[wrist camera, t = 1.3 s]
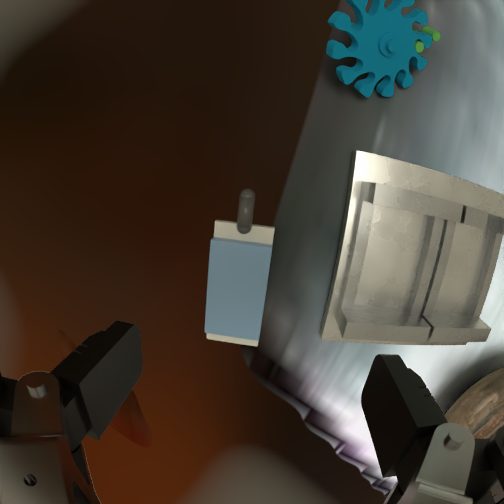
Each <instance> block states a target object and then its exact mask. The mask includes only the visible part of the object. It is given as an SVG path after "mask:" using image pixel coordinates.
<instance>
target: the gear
mask: <svg viewBox="0 0 504 504" xmlns="http://www.w3.org/2000/svg"><path fill="white" fill-rule="evenodd" d="M346 1H347V2H348V3H349V4H350V5H351V6H352V8H353V9H354V11H355V14H356V21H357V23H356V24H354V23H352V22H351V20H350V17H349V16H348V15H347V14H345V13H342V12H338V11H336V12H334V13H333V14H332V16H331V17H330V19H329V20H328V23H329V24H330V25H331V26H332V27H335V28H337V29H340V30H344V31H345V32H346V33H347V34H348V35H349V37H350V38H351V40H352V44H351V46H350V47H349V48H346V47H345V46H344V45H343V44H342V43H340V42H338V41H335V40H329V41H328V44H327V49H326V54H327V55H329V56H330V57H332V58H334V59H341V58H344V57H355V58H356V59H357V63H356V65H355V66H353V67H347V66H345V65H341V66H338V67H337V68H336V73H337V76H338V78H339V80H340V81H342V82H343V83H344V84H350V83H352V82H353V81H354V79H355V78H357V77H358V76H359V75H361V74H363V73H367V72H369V75H368V77H367V78H366V79H362V80H359V81H357V82H356V83H355V85H354V87H355V89H356V90H357V91H359V92H360V93H361V94H363V95H364V96H366V97H367V98H368V97H369V96H371V94H372V92H373V89H374V87H375V85H376V83H377V82H378V81H379V80H380V79H381V78H382V77H384V76H385V77H384V79H383V80H382V81H381V82H380V83H379V84H378V85H377V88H376V91H377V92H378V93H380V94H381V95H382V96H385V97H392V96H393V94H394V80H395V77H396V75H397V73H398V71H399V70H400V72H399V74H398V76H397V83H398V84H399V85H401V86H402V87H404V88H406V87H409V86H411V85H412V84H413V78H412V76H411V75H410V72H409V60H410V58H411V64H412V66H413V67H415V68H417V69H418V70H420V71H421V70H423V69H424V67H425V66H426V65H427V60H426V59H425V58H423V57H422V56H420V55H419V54H418V53H420V52H422V51H423V49H424V47H426V48H430V46H431V43H432V40H434V41H439V39H440V33H439V32H438V31H436V30H434V29H432V28H429V27H427V26H424V27H423V28H422V31H421V30H420V29H419V28H417V27H415V26H412V24H413V22H417V23H419V24H422V25H426V24H427V23H428V18H427V14H426V12H425V11H423V10H420V9H417V8H415V9H413V10H412V12H410V13H409V14H407V15H401V9H402V8H403V7H405V6H406V7H410V6H412V5H413V4H414V2H415V1H414V0H393V2H392V3H391V4H390V5H389V6H388V7H386V8H384V2H385V1H386V0H372V5H371V8H370V10H369V12H368V13H366V11H365V8H366V5H367V3H368V0H346ZM417 52H418V53H417Z"/></svg>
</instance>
